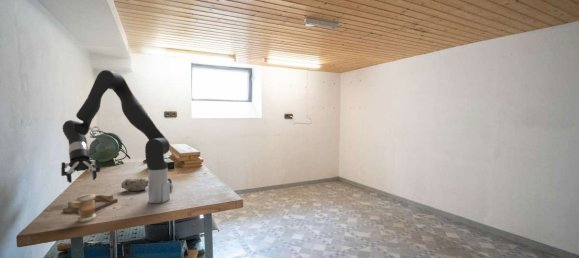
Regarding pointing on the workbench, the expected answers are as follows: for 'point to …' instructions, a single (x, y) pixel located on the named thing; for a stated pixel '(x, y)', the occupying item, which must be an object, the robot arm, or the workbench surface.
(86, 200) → the bobbin
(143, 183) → the pumice stone
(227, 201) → the workbench surface
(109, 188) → the workbench surface
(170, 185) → the flashlight
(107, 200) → the notched board
